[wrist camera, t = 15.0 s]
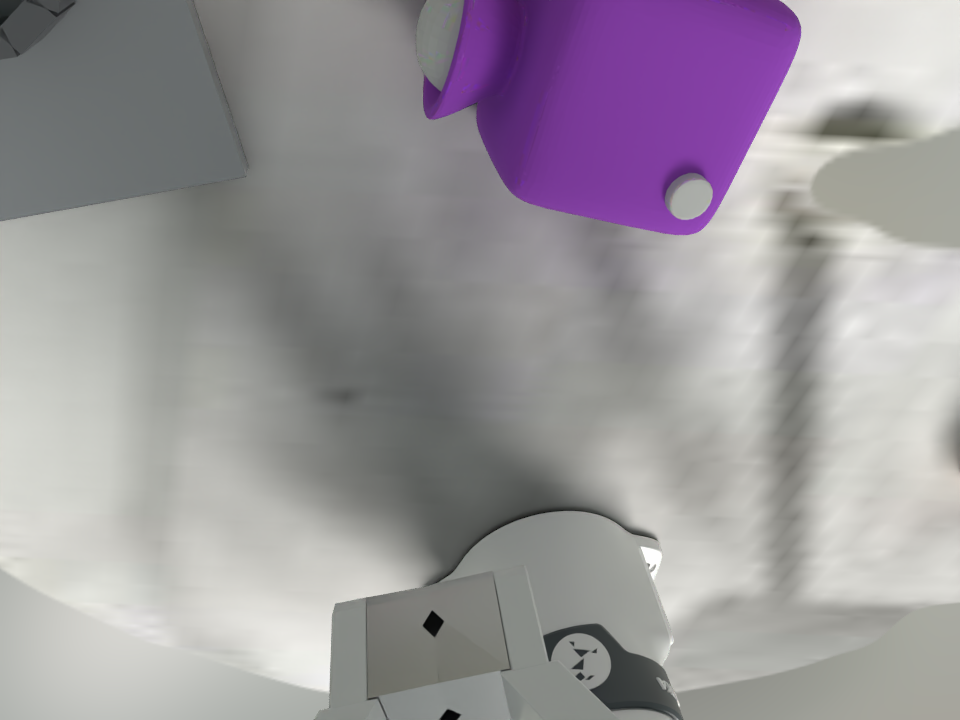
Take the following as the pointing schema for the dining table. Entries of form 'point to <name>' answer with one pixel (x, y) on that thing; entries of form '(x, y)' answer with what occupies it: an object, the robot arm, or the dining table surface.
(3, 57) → the grey segmented ring
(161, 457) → the dining table surface
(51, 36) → the board
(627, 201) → the toy camera
